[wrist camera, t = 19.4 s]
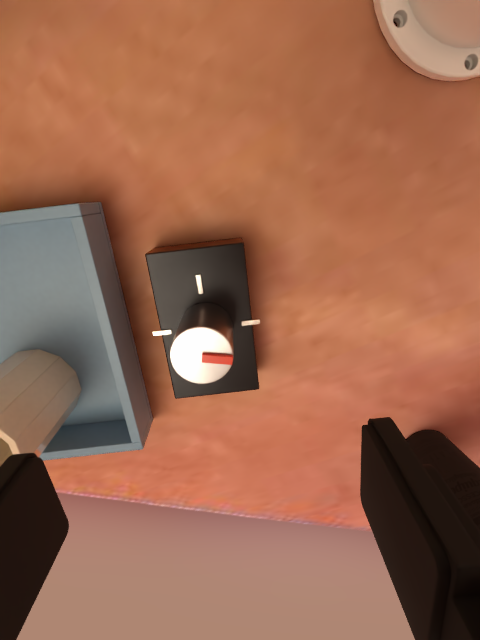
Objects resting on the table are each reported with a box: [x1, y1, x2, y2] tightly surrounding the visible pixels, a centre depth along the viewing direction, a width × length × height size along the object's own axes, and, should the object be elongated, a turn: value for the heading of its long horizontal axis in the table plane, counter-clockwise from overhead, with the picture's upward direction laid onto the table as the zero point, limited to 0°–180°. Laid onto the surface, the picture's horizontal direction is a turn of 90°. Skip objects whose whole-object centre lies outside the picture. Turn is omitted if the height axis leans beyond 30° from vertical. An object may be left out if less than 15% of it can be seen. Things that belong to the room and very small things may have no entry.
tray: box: [0, 202, 153, 460], centre depth 27 cm, size 20×18×4 cm
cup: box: [0, 349, 81, 466], centre depth 26 cm, size 7×7×9 cm
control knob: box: [169, 303, 233, 384], centre depth 23 cm, size 4×4×5 cm
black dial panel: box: [145, 238, 260, 399], centre depth 27 cm, size 12×8×3 cm
